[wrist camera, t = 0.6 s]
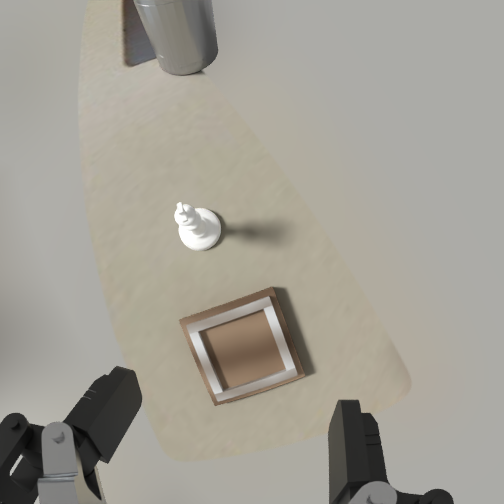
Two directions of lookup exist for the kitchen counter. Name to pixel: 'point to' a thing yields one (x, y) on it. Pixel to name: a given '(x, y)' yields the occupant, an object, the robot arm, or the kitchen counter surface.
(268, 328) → the walnut board
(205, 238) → the chess piece
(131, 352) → the kitchen counter surface
